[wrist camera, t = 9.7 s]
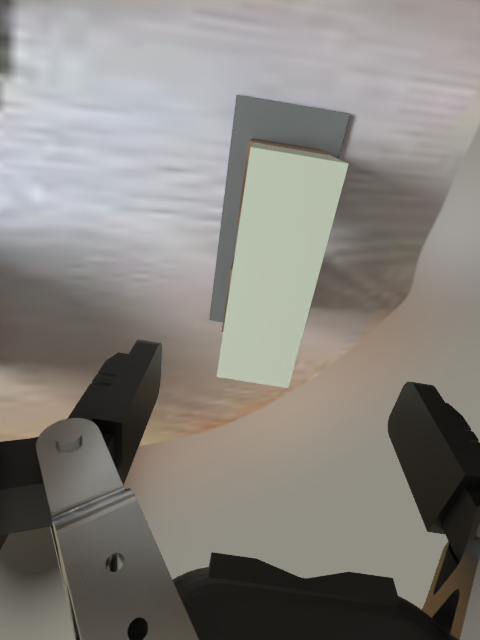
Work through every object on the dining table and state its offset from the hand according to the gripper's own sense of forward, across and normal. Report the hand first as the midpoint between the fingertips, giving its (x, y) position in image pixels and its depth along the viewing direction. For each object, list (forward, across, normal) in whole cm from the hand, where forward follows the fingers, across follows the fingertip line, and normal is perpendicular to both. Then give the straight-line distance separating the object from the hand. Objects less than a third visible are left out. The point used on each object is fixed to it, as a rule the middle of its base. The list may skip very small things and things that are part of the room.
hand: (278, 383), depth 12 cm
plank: (+14, 0, 0) cm, 14 cm away
